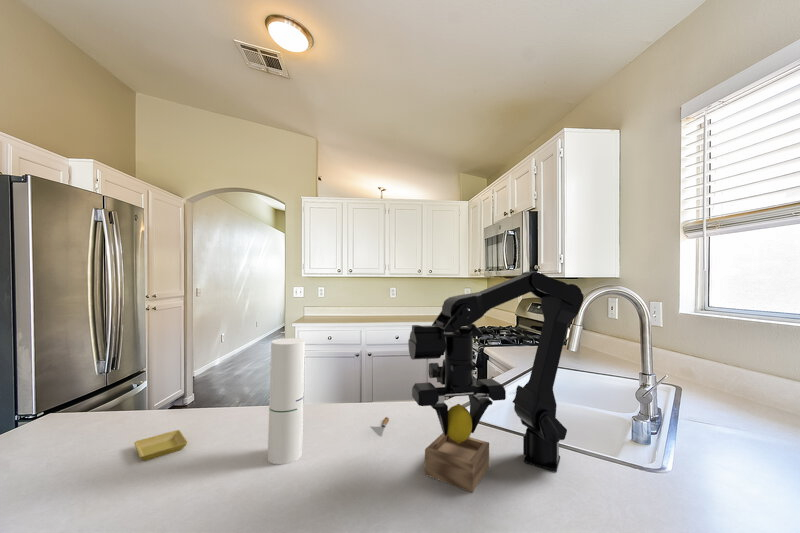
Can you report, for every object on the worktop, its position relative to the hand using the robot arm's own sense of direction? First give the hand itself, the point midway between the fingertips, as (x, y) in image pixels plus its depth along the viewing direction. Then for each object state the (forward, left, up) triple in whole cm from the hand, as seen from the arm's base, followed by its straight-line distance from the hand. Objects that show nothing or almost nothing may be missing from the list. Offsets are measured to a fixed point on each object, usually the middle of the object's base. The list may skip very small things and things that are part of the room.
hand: (458, 433), depth 67 cm
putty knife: (+25, -5, -8) cm, 27 cm away
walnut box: (0, 0, -8) cm, 8 cm away
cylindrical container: (+34, +16, -8) cm, 38 cm away
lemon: (0, 0, -2) cm, 2 cm away
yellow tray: (+59, +30, -8) cm, 67 cm away
